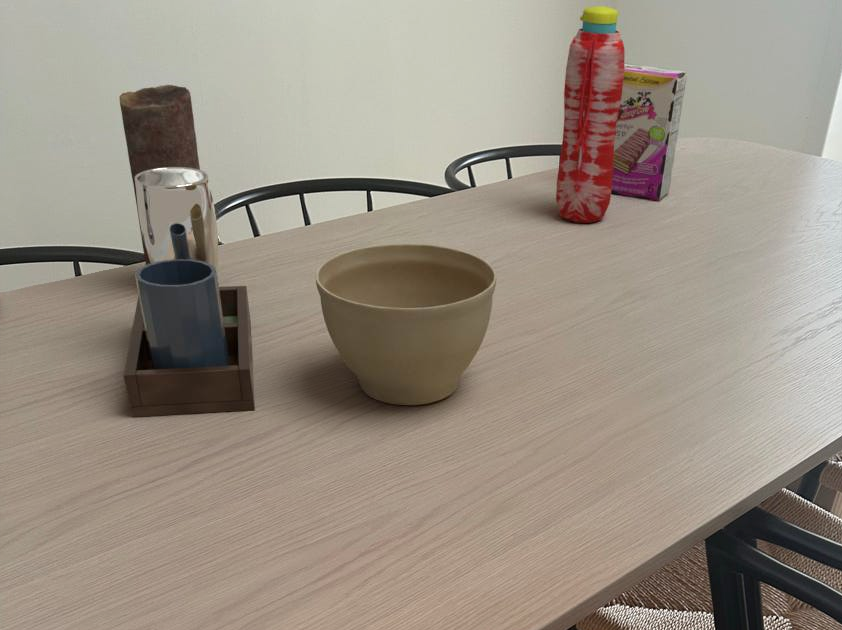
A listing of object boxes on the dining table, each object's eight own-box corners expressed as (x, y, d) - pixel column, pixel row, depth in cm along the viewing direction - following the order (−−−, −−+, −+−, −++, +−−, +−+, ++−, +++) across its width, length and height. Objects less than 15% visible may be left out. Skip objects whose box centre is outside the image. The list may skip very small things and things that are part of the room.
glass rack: (132, 417, 89) (123, 375, 86) (146, 327, 104) (139, 289, 101) (254, 410, 90) (249, 368, 88) (250, 322, 106) (246, 285, 103)
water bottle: (569, 199, 144) (586, -3, 128) (622, 207, 142) (646, 2, 126) (542, 222, 136) (557, 8, 120) (598, 231, 134) (621, 14, 118)
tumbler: (163, 400, 89) (143, 290, 83) (149, 370, 94) (129, 263, 87) (238, 388, 91) (223, 280, 85) (221, 359, 96) (206, 255, 90)
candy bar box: (588, 190, 148) (600, 66, 138) (600, 182, 152) (612, 60, 141) (660, 202, 145) (678, 75, 134) (670, 194, 148) (688, 69, 138)
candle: (226, 290, 113) (200, 94, 100) (164, 302, 109) (129, 101, 97) (200, 270, 117) (172, 80, 105) (140, 281, 114) (103, 86, 101)
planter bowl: (327, 350, 101) (319, 241, 94) (485, 350, 102) (488, 243, 95) (319, 425, 89) (309, 306, 82) (498, 424, 90) (504, 306, 83)
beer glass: (167, 352, 97) (138, 189, 87) (155, 325, 101) (126, 169, 92) (238, 342, 99) (217, 183, 89) (223, 317, 104) (201, 163, 94)
